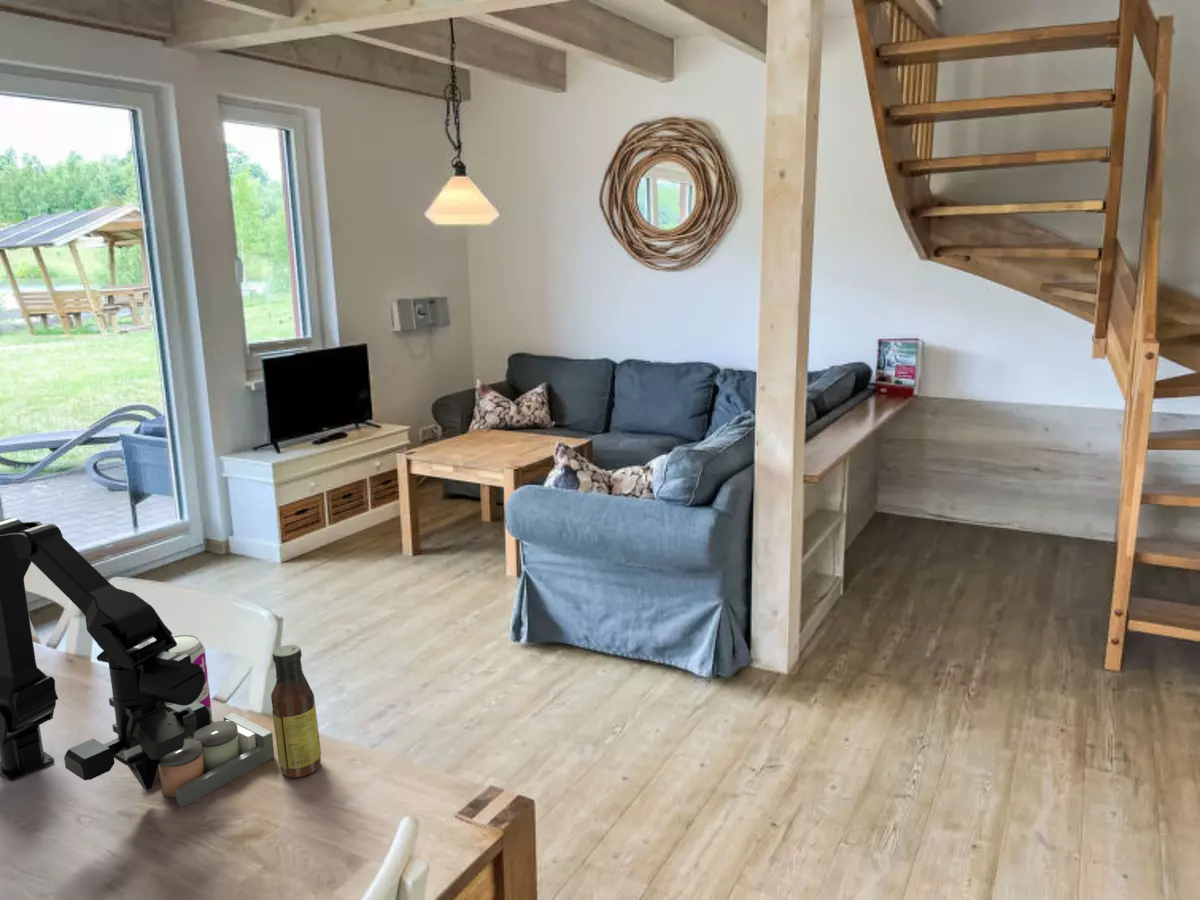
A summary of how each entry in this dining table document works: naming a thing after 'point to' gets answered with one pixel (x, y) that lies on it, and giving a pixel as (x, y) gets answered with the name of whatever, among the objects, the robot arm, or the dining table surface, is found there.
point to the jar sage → (218, 743)
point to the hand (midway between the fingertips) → (147, 789)
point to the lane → (228, 764)
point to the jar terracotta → (181, 767)
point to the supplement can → (197, 654)
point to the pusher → (245, 739)
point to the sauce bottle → (294, 715)
